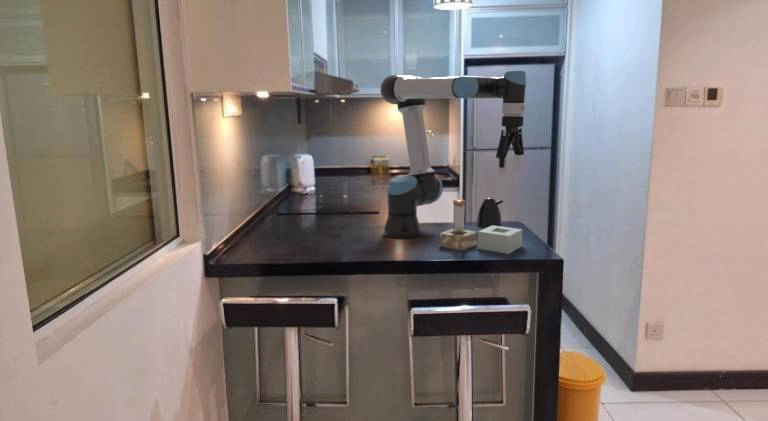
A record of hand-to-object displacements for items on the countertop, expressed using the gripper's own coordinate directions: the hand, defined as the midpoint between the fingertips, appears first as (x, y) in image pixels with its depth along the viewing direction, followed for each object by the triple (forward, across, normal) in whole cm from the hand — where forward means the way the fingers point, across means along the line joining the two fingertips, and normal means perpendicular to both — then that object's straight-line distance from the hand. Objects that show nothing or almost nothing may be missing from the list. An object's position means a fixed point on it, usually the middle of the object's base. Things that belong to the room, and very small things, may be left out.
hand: (509, 174), depth 189 cm
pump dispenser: (+27, +12, +12) cm, 32 cm away
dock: (+27, -5, 0) cm, 27 cm away
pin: (+27, -10, +14) cm, 32 cm away
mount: (+27, -10, +14) cm, 32 cm away
